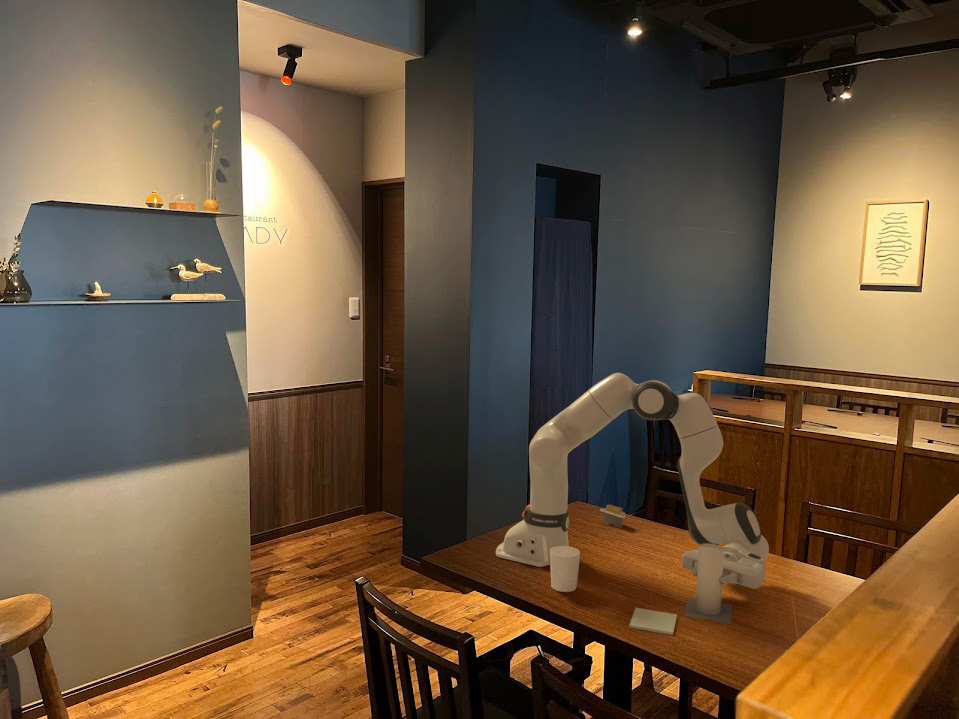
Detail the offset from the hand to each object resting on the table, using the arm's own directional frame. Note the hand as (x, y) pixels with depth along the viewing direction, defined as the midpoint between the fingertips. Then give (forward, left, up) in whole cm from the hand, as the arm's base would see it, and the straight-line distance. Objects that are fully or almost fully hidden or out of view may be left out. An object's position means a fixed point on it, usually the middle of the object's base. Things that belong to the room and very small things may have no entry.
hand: (708, 576), depth 178 cm
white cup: (-37, +1, -9) cm, 38 cm away
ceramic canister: (0, +1, -9) cm, 9 cm away
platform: (-33, +58, -10) cm, 67 cm away
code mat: (0, +1, -9) cm, 9 cm away
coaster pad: (-12, -11, -9) cm, 18 cm away
